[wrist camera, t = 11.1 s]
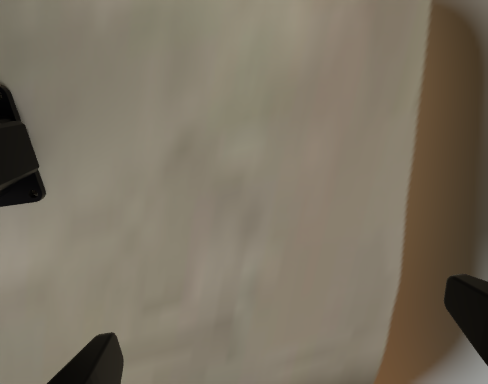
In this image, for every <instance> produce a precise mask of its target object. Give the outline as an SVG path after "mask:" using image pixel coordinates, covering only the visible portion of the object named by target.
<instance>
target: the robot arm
mask: <svg viewBox="0 0 488 384" xmlns="http://www.w3.org/2000/svg"><path fill="white" fill-rule="evenodd" d="M0 93H1V94H2V99H1V100H0V207H2V206H10V205H17V204H24V203H32V202H37V201H40V200H41V199H43V198H44V197H45V195H46V191H45V188H44V185H43V182H42V179H41V176H40V174H39V171H38V168H39V164H38V161H37V158H36V155H35V152H34V150H33V147H32V144H31V141H30V138H29V135H28V132H27V129H26V127H25V125H24V124H23V123H22V122H21V120H20V117H19V114H18V111H17V108H16V105H15V103H14V100H13V97H12V94H11V92H10V90H8V89H7V88H6V87H4V86H0ZM32 190H35V191H36V192H37V193H38V196H36V195H34V194H33V193H32ZM444 304H445V307H446V309H447V310H448V312H449V313H450V315H451V316H452V317H453V319H454V320H455V321H456V323H457V324H458V326H459V327H460V329H461V330H462V331H463V333H464V334H465V335H466V337H467V338H468V340H469V341H470V343H471V344H472V345H473V347H474V348H475V350H476V351H477V352H478V354H479V355H480V356H481V358H482V359H483V360H484V362H485V363H486V364H487V366H488V282H487V281H484V280H481V279H478V278H476V277H472V276H470V275H467V274H459V275H453V276H450V277H449V278H448V279H447V282H446V289H445V297H444ZM122 371H123V355H122V352H121V348H120V345H119V342H118V339H117V336H116V335H115V333H112V332H111V333H105V334H99V335H97V336H96V337H94V338H93V339H92V340H91V341H90V342H89V343H88V344H87V345H86V346H85V347H84V348H83V349H82V350H81V351H80V352H79V353H78V354H77V355H76V356H75V357H74V358H73V359H72V360H71V361H70V362H69V363H68V364H66V365H65V366H64V367H63V368H62V369H61V370H60V371H59V372H58V373H57V374H56V375H55V376H54V377H53V378H52V379H51V380H50V381H49V382H48V383H47V384H121V377H122Z"/></svg>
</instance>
